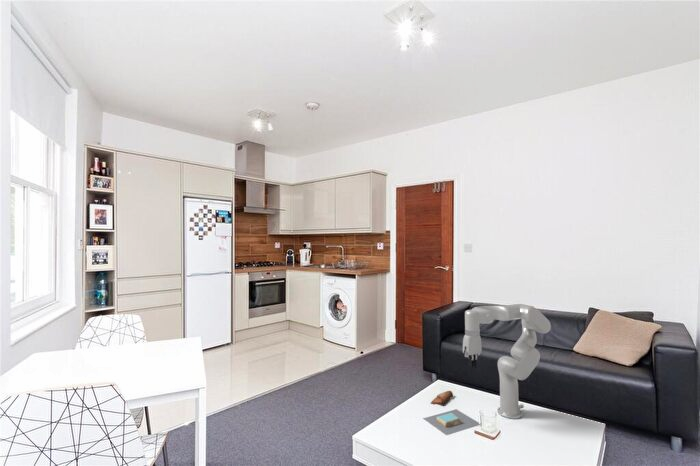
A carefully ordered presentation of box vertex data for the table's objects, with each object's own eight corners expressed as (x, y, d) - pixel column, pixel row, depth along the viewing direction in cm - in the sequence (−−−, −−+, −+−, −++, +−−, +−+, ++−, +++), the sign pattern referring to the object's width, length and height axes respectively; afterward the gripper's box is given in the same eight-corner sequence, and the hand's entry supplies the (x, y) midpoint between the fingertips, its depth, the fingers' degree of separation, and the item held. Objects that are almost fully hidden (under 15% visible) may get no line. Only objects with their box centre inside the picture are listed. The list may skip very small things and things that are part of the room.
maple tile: (450, 412, 194) (436, 416, 189) (460, 418, 187) (445, 422, 183) (451, 417, 193) (436, 421, 189) (460, 423, 187) (445, 427, 183)
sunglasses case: (440, 393, 226) (445, 385, 224) (449, 401, 223) (454, 393, 221) (429, 403, 211) (435, 395, 210) (439, 412, 208) (445, 404, 206)
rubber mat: (456, 410, 203) (456, 409, 203) (481, 425, 186) (481, 424, 186) (422, 419, 192) (422, 418, 192) (446, 436, 175) (446, 435, 175)
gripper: (477, 330, 199) (477, 362, 198) (457, 333, 192) (457, 366, 192) (487, 333, 192) (488, 366, 192) (467, 336, 186) (467, 371, 185)
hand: (472, 366), depth 192 cm, fingers closed
